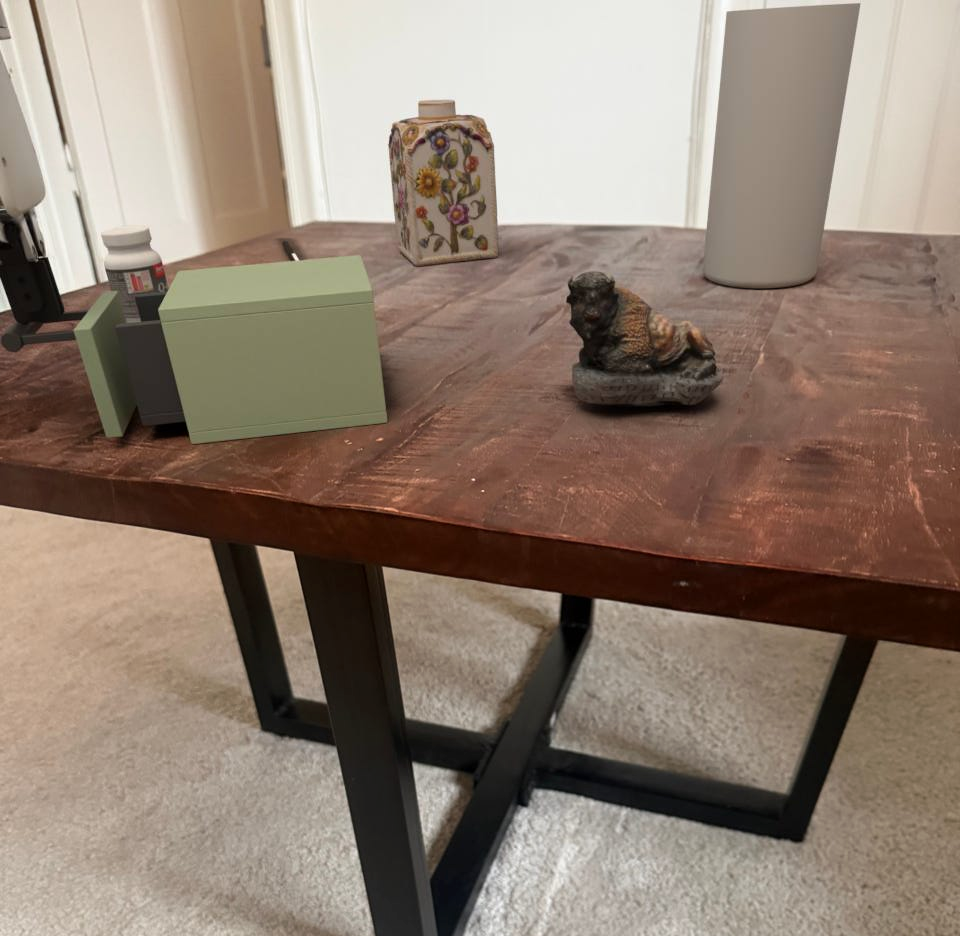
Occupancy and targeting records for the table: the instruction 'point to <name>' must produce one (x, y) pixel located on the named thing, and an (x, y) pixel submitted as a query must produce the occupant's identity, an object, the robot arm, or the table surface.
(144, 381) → the pull-out drawer
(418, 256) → the decorative jar
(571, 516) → the table surface
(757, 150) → the cylinder vase
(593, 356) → the bison figurine
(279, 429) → the sage green drawer box
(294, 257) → the pen
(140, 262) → the pill bottle
